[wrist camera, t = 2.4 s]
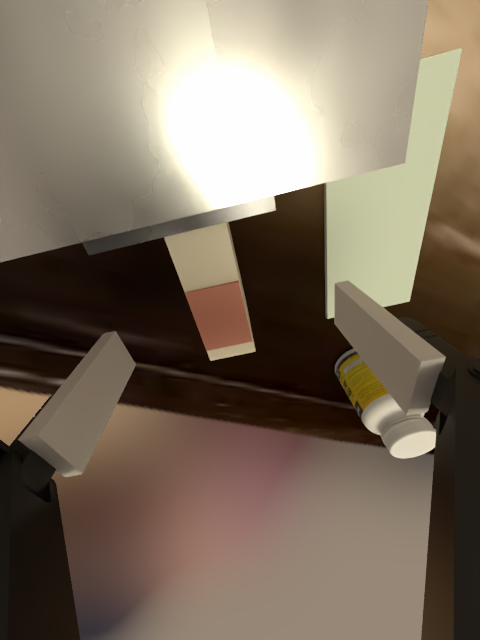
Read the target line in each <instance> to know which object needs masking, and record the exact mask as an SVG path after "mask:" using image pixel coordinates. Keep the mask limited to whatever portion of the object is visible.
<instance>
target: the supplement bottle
mask: <svg viewBox="0 0 480 640" xmlns="http://www.w3.org/2000/svg"><path fill="white" fill-rule="evenodd" d="M335 374H336V376H337V378H338V380H339V381H340V383H341V385H342V386H343V388H344V390H345V392H346V393H347V395H348V397H349V399H350V400H351V402H352V404H353V406H354V407H355V409H356V411H357V413H358V415H359V416H360V418H361V420H362V422H363V423H364V425H365V426H366V427H367V429H369V430H370V431H371V432H373V433H375V434H378V435H381V438H382V440H383V443H384V444H385V445H386V447H387V449H388V450H389V452H390V453H391V455H393V456H394V457H397V458H411V457H416V456H419V455H422V454H424V453H426V452H428V451H430V450H432V449H433V448H434V447H435V442H436V430H435V429H434V428H433V426H432V425H431V424H430V422H428V420H427V419H426V418H424V417H423V416H424V413H419V414H414V415H408V416H406V414H405V413H404V412H403V410H402V409H401V408H400V407H399V405H398V404H397V403H396V401H395V400H394V399H393V398H392V396H391V395H390V394H389V393H388V391H387V390H386V389H385V387H384V386H383V385H382V384H381V382H380V381H379V380H378V378H377V377H376V376H375V375H374V373H373V372H372V371H371V370H370V368H369V367H368V366H367V364H366V363H365V362H364V361H363V359H362V358H361V357H360V355H359V354H358V353H357V352H356V350H355V349H354V348H353V349H351V350H349V351H347V352H346V353H344V354H343V355H342V356H341V357H340V358H339V359H338V360H337V362H336V364H335Z"/></svg>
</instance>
